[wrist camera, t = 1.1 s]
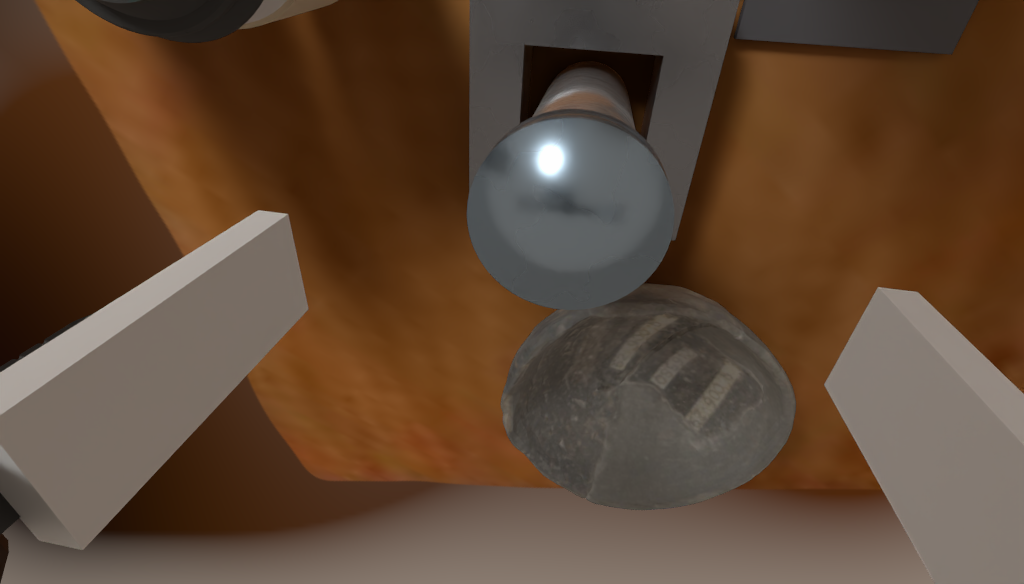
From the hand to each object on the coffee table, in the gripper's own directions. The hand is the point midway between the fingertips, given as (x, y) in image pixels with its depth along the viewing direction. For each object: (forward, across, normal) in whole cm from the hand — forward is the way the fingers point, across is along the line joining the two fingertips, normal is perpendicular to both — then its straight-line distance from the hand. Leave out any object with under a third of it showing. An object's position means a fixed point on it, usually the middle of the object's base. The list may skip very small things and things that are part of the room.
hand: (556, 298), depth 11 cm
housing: (+20, 0, 0) cm, 20 cm away
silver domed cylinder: (+20, 0, 0) cm, 20 cm away
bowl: (+20, +6, -16) cm, 27 cm away
